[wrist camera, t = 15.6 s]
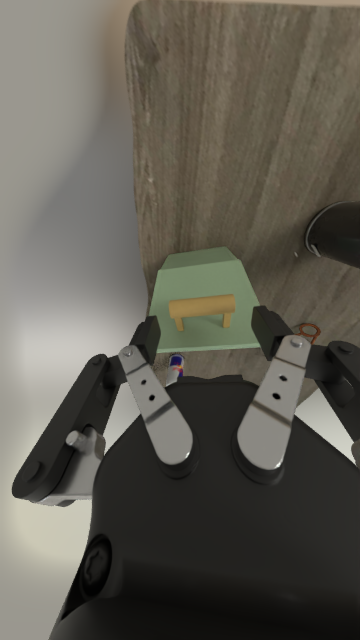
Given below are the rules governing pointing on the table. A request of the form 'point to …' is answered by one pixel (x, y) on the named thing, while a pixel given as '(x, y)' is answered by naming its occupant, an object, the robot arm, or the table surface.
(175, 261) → the storage box
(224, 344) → the lid
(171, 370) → the energy drink
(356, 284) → the table surface
